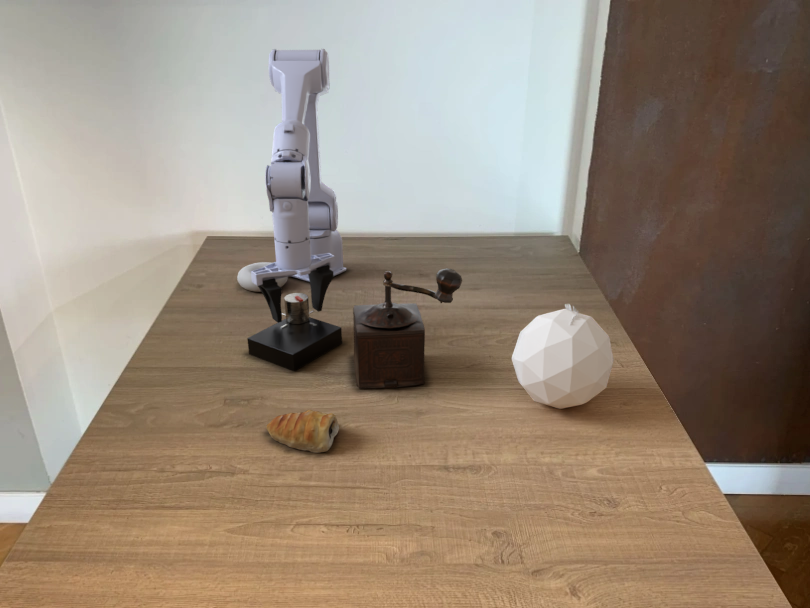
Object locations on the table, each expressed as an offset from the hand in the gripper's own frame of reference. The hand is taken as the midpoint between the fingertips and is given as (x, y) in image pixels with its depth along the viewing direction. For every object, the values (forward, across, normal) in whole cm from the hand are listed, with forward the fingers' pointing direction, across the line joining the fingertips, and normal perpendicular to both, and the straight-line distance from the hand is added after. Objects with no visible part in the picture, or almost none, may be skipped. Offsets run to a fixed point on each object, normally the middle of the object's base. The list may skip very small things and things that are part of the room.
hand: (297, 314), depth 126 cm
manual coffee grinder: (+4, +8, -21) cm, 22 cm away
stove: (+4, -2, -3) cm, 5 cm away
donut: (+4, +5, +24) cm, 25 cm away
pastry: (+4, -14, -29) cm, 32 cm away
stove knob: (+1, 0, 0) cm, 1 cm away
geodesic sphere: (+4, +21, -40) cm, 46 cm away
